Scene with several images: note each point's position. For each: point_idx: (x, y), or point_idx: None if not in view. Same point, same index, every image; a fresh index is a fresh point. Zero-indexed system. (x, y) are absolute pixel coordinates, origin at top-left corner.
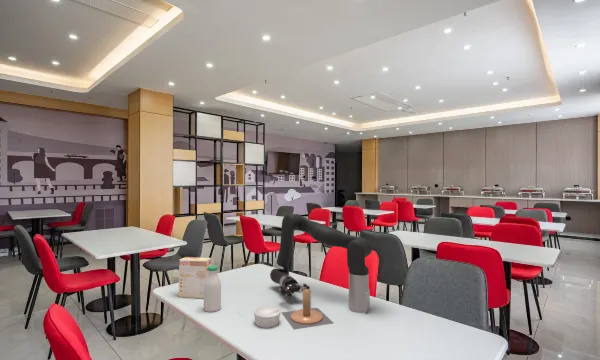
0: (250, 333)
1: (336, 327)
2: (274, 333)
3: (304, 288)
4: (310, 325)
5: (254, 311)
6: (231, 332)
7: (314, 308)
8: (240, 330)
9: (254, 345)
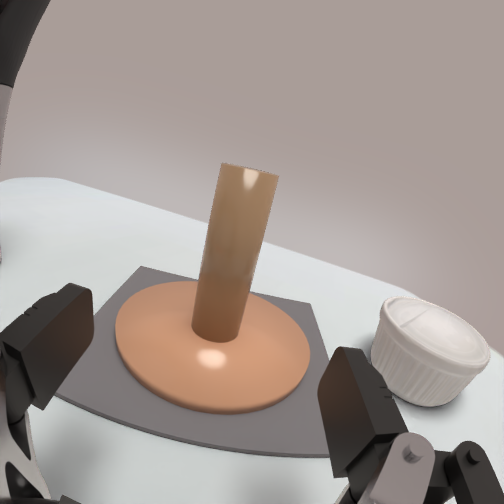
0: None
1: (153, 260)
2: (374, 318)
3: (20, 348)
4: None
5: (483, 338)
6: None
7: (67, 388)
8: None
9: None
